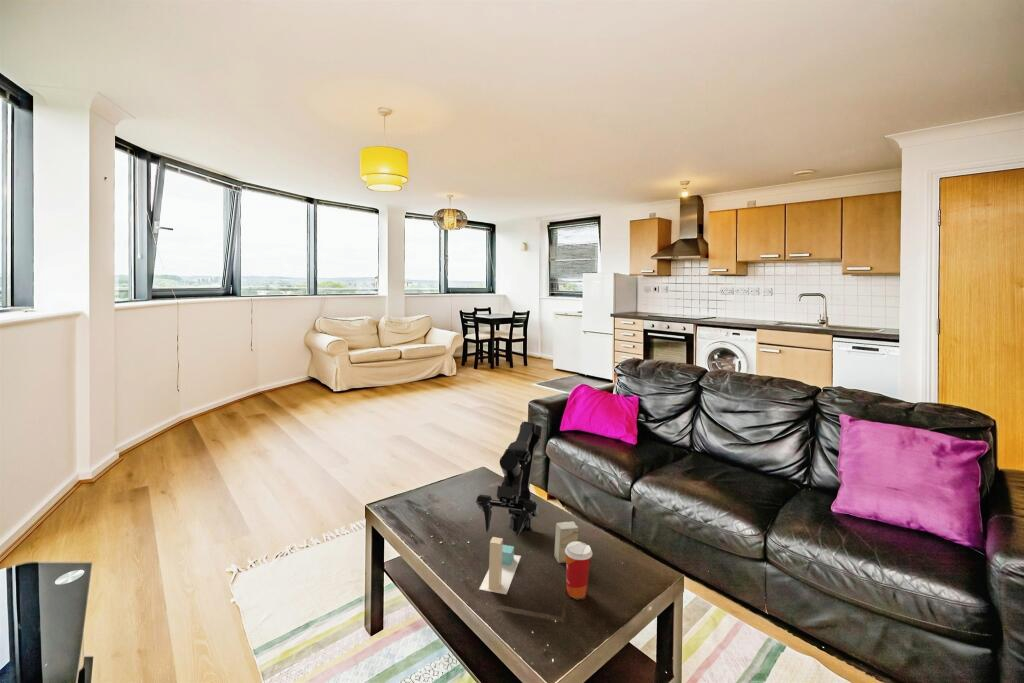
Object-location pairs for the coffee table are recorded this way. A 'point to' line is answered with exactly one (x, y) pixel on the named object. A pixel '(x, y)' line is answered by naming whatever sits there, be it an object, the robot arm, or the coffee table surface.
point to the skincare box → (564, 538)
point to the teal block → (507, 554)
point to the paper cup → (577, 568)
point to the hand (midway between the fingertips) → (501, 534)
